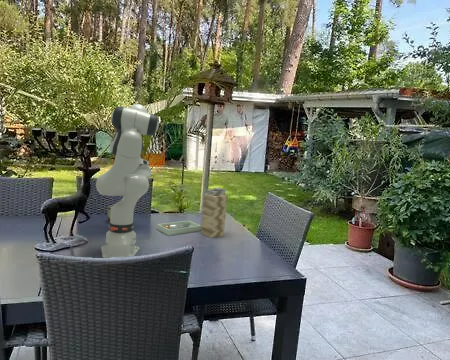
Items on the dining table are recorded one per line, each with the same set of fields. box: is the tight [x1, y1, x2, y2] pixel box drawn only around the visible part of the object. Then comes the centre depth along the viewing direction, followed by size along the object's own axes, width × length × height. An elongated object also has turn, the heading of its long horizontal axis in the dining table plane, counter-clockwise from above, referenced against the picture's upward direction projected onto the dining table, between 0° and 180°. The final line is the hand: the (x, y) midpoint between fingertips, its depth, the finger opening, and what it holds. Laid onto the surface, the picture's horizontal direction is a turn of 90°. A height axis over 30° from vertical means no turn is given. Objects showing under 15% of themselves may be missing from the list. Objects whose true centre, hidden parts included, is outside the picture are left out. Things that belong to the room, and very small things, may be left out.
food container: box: [106, 205, 113, 223], centre depth 234 cm, size 12×6×10 cm, turn 47°
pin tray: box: [156, 220, 202, 237], centre depth 229 cm, size 24×14×4 cm, turn 130°
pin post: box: [200, 187, 228, 239], centre depth 225 cm, size 10×10×29 cm
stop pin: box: [164, 223, 190, 229], centre depth 231 cm, size 18×2×2 cm
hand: (136, 185), depth 217 cm, fingers open, 8 cm apart
